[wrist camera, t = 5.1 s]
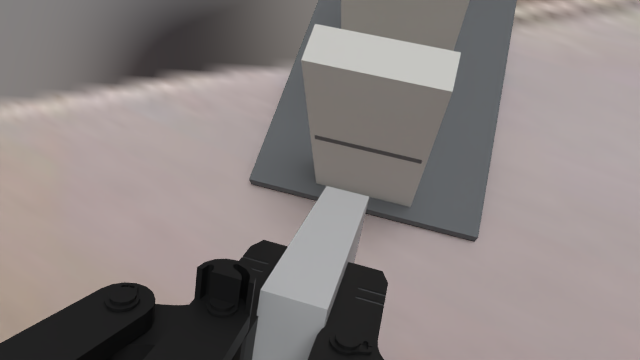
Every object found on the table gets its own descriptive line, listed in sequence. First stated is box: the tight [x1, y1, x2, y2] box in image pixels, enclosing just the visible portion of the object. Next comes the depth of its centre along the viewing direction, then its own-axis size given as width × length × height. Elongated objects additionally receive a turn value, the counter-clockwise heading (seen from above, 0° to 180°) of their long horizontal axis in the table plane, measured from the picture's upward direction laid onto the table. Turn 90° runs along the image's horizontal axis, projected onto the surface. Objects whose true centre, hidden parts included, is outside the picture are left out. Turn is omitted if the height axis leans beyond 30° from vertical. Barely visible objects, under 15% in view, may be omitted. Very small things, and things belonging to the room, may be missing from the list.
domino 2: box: [301, 24, 461, 207], centre depth 20 cm, size 2×5×10 cm, turn 73°
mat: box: [249, 0, 517, 241], centre depth 29 cm, size 24×12×1 cm, turn 164°
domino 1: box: [341, 0, 470, 51], centre depth 22 cm, size 2×5×10 cm, turn 74°
